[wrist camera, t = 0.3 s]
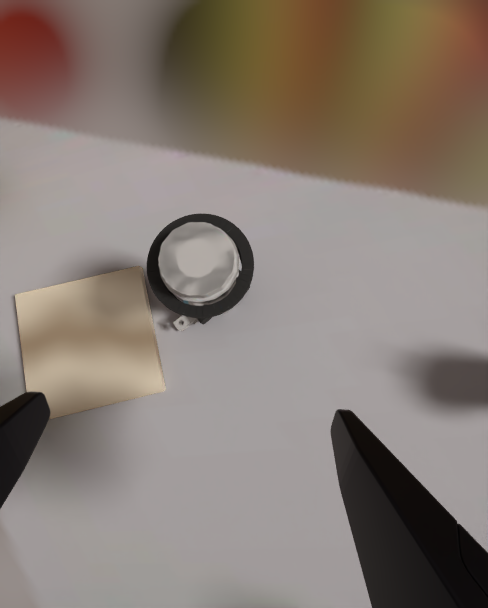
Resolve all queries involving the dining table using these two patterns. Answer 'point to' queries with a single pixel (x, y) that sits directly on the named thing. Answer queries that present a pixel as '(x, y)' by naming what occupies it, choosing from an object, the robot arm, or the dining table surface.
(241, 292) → the push button
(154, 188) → the dining table surface
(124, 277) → the birch pad
